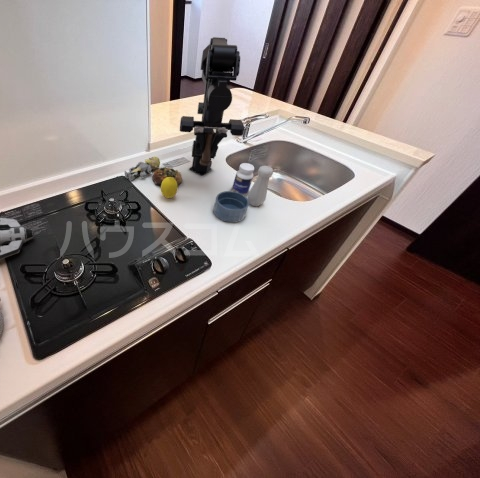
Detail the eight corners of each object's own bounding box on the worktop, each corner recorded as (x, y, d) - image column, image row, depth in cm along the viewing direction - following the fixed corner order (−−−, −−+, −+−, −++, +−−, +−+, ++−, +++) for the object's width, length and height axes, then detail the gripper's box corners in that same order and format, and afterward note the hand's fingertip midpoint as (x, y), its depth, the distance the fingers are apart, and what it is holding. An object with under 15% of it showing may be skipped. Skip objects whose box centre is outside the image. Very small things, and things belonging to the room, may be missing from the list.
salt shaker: (263, 209, 85) (277, 174, 75) (246, 206, 85) (257, 171, 76) (262, 199, 89) (275, 164, 80) (245, 196, 89) (256, 162, 80)
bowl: (207, 212, 82) (209, 199, 79) (224, 200, 88) (227, 187, 84) (233, 227, 78) (237, 214, 74) (250, 213, 83) (255, 200, 79)
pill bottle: (229, 194, 90) (236, 168, 83) (233, 186, 94) (239, 160, 87) (246, 198, 89) (254, 172, 82) (248, 189, 93) (257, 164, 86)
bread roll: (149, 185, 92) (150, 172, 88) (154, 173, 100) (156, 161, 97) (180, 190, 91) (182, 177, 88) (183, 178, 100) (185, 165, 97)
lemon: (179, 195, 88) (181, 175, 83) (172, 204, 85) (174, 183, 79) (164, 191, 90) (165, 171, 84) (157, 200, 86) (158, 179, 81)
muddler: (199, 165, 84) (204, 134, 78) (199, 160, 87) (203, 130, 80) (210, 166, 84) (216, 135, 77) (210, 160, 87) (215, 131, 80)
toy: (119, 167, 94) (149, 151, 101) (122, 179, 98) (151, 163, 104) (133, 173, 90) (164, 156, 96) (136, 186, 93) (165, 168, 100)
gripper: (244, 94, 78) (233, 144, 89) (183, 90, 79) (178, 140, 90) (250, 105, 70) (237, 159, 81) (182, 101, 71) (177, 155, 81)
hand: (206, 152), depth 83 cm, fingers closed on muddler, 2 cm apart
